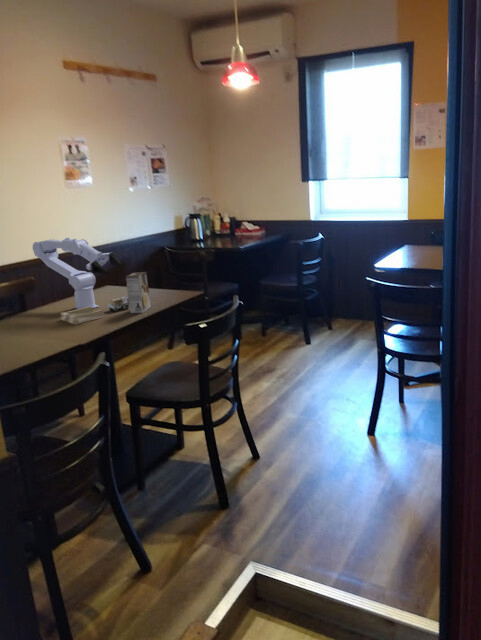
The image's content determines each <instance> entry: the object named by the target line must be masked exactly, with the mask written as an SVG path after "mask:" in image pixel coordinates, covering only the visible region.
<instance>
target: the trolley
mask: <svg viewBox="0 0 481 640" xmlns="http://www.w3.org/2000/svg"><path fill="white" fill-rule="evenodd" d="M109 301H110V303H108V304H107V308H108V310H109V311H113V312H115V313H116V312H118V309H119V308H124V309H126V310H128V309H130V306H129V299H128V296H121V298H119V297H118V298H112V299H109Z"/></svg>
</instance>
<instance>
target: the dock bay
mask: <svg viewBox="0 0 481 640" xmlns="http://www.w3.org/2000/svg"><path fill="white" fill-rule="evenodd" d="M104 312H105V311H104V309H99V310H95V311H93V308H92V307H91V306H90V307H86V308H81V309H77V308H76V309H74V310H70V311H69V310H68V311H66V312H64V311H63V312H59V313H60V319H61V320H62V321H63V322H67V323H70V324H72V325H75V326H77V325H79V324H81V323H82V324H83V323H86V322H90V321H93V320H94V321H95V320H97V319H102V318H105V313H104Z"/></svg>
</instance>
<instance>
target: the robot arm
mask: <svg viewBox="0 0 481 640" xmlns="http://www.w3.org/2000/svg"><path fill="white" fill-rule="evenodd" d="M58 249H61V251H63V252H67V253H72V254H73V255H74V256H75V255H78V256H80V257H82V258H84V259H85V260H87V261H88V262H89V263H87V264H86V265H85V269H87V270H88V271H91V272H88V271H84V270H78V269H76V268H74V267H73V266H71V265H69V263H66V262H64V261H62V260H61V259H59V251H58ZM32 251H33V254H34V256H35V257H37V258H38V259H40V260H41V261H42V262H43V263H44V264H45V265H46V267H48V268H50V269H52V270H53V271H55V272H56V273H58V274H60V275H62V276H63V277H65V278H67V279H68V284H69V285H71V287H72V288H73V289H74V295H73V296H74V301H75V306H74V308H75V309H76V310H77V309H81V308H86V307H90V306H91V307H92V309H95V308H98V307H100V306H99V305H98V304H96V301H95V295H94V294H95V293H94V288H95V284H96V282H97V281H96V276H95V274H101V275H106V276H108V274H109V273H108V269H106V268H105V267H104V265H105V264H107V262H108V261H109V263H110V265H112V266H115V267H117V268H119V269H121V268H122V263H121V262H120V260H119V259H118V257H117V256H116V253H115V252H113V251H111V252H106V253H105V252H103V253H102V251H99V250H97V249H95V247H92V246H90V245H89V242H88V241H87V240H86V239H83V238H82V239H78V240H77V238H73V239H70V237H65V238H64V239H62V240H60V239H55V238H51V239H47V240H41V241H34V242H33V243H32Z"/></svg>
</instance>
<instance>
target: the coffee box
mask: <svg viewBox="0 0 481 640" xmlns="http://www.w3.org/2000/svg"><path fill="white" fill-rule="evenodd" d="M124 277H125V283H126V284H125V285H126V290H127V291H126V292H127V297H128V299H129V313H130V314H137V313H145V312H147V311H149V309H151V308H152V305H151V304H152V303H151V298H150V297H151V296H150V289H149V283H148V282H149V281H148V274H147V271H140V272H139V271H138V272H131V273H130V274H129V275H128V274H127V275H126V276H124Z"/></svg>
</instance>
